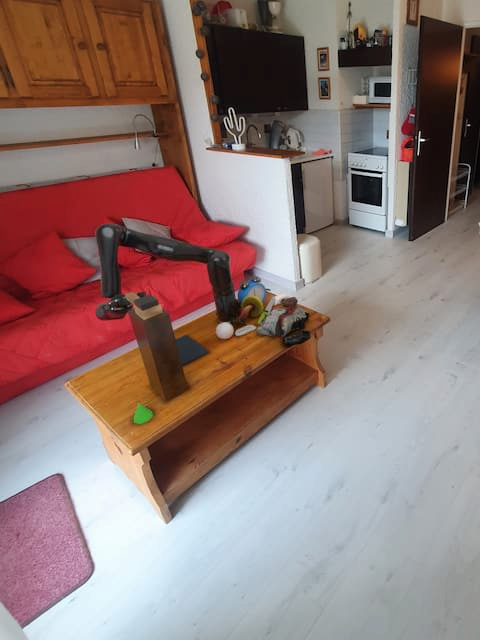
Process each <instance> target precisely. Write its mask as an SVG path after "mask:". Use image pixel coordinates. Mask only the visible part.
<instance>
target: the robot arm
mask: <svg viewBox="0 0 480 640" xmlns="http://www.w3.org/2000/svg"><path fill="white" fill-rule="evenodd" d="M94 234H95V242H96V246H97V251H98V257H99V266H100V295H101V297H102V298H105V299H109V300H108V301H105V302H101V303H99V304H98V305H97V306H96V308H95V316H96V318H97V319H98V320H99V321H103V322H105V321H115V320H116V321H117V320H123V319H124V318H125V317H126V316H127V314H128V310H131V309H133V308H134V305H133V304H132V303H131V302H129V301H128V300H127V299H126V296H125V294H123V293H122V273H121V269H120V265H119V259H118V257H119V255H118V254H119V247H122V248H129V249H134V250H137V251H140V252H142V253H145V254H146V255H149V256H152V257H155V258H157V259H161V260H165V261H170V262H174V263H175V262H178V263H181V262H182V263H184V262H185V263H187V262H196V263H200V264H204V265H206V271H207V276H208V280H209V283H210V285H211V289H212V294H213V300H214V305H215V306H214V307H215V311H216V313H215V315H216V316H217V322H218V323H219V324H221V323H223V322H228V323H230V324H231V322H230V320H231V318H235V319H236V318H237V319H238V318H239V317H240V315H241V312H240V309H242V304H241V302H239V300H238V298H237V297H236V291H235V285H234V280H233V278H232V274H231V268H230V266H231V262H232V258H231V256H230V254H229V253H228V252H227V251H225V250H221V249H216V248H210V247H205V246H199V245H196V244H192V243H188V242H185V241H180V240H178V239H174V238H171V237H167V236H162V235H158V234H152V233H144V232H141V231H138V230H134V229H131V228H128V227H126V226H123V225H121V224H117V223H111V222H110V223H102V224H100V225H99V226H98V227H97V228H96V229H95V232H94ZM265 289H266V291H269V292H271V290H272V289H271V288H265ZM135 294H136V295H137V296H139V297H140V298H141V297H144V296H147V295H148V294H147V293H146V291H145V290H143V291H139V292H137V293H135Z"/></svg>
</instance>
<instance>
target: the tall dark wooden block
mask: <svg viewBox="0 0 480 640" xmlns="http://www.w3.org/2000/svg"><path fill="white" fill-rule="evenodd" d="M162 311H163V313H161V314H158V315H156V316H153V317H151V318H148V319H146V320H143V319H142V318H141V317H139V316H138V315H137V314H136V312H135V309H134V307H132V309H131V310H128V313H127V314H128V318H129V319H130V324H131V327H132V330H133V334H134V336H135V340H136V343H137V346H138V350H139V353H140V355H141V359H142V362H143V366H144V369H145V372H146V375H147V378H148V382H149V385H150V387H151V388H152V389H153V391H155V393H157V394H158V395H159V396H160V397H161V399H162V400H163V401H164V402H165V403H167V402H168V401H170V400H172V399H174V398H176V397H178V396H180V395H182V394H184V393H185V392H187V391H188V390H189V386H188V384H187V379H186V376H185V372H184V368H183V367H184V366H182V363H181V359H180V355H179V351H178V347H177V343H176V339H177V338H176V336H175V332H174V328H173V325H172V321H171V320H172V319H171V317H170V313H169V312H168V311H166V310H164V309H163V308H162Z"/></svg>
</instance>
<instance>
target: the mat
mask: <svg viewBox="0 0 480 640" xmlns="http://www.w3.org/2000/svg"><path fill="white" fill-rule="evenodd" d="M175 339H176V343H177V347H178V351H179V355H180V359H181V363H182V367H184V366H186V365H188V364H190V363H192V362H194V361H196V360H198V359H200V358H201V357H204V356H206V355H208V354H209V351H208V350H207V349H206V348H205V347H204V346H202V345H201V344H199V343H198V342H197V341H196V340H194V339H193V338H191V337H190V336H189V335H188V334H184V335H182V336H180V337H178V338H175Z"/></svg>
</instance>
